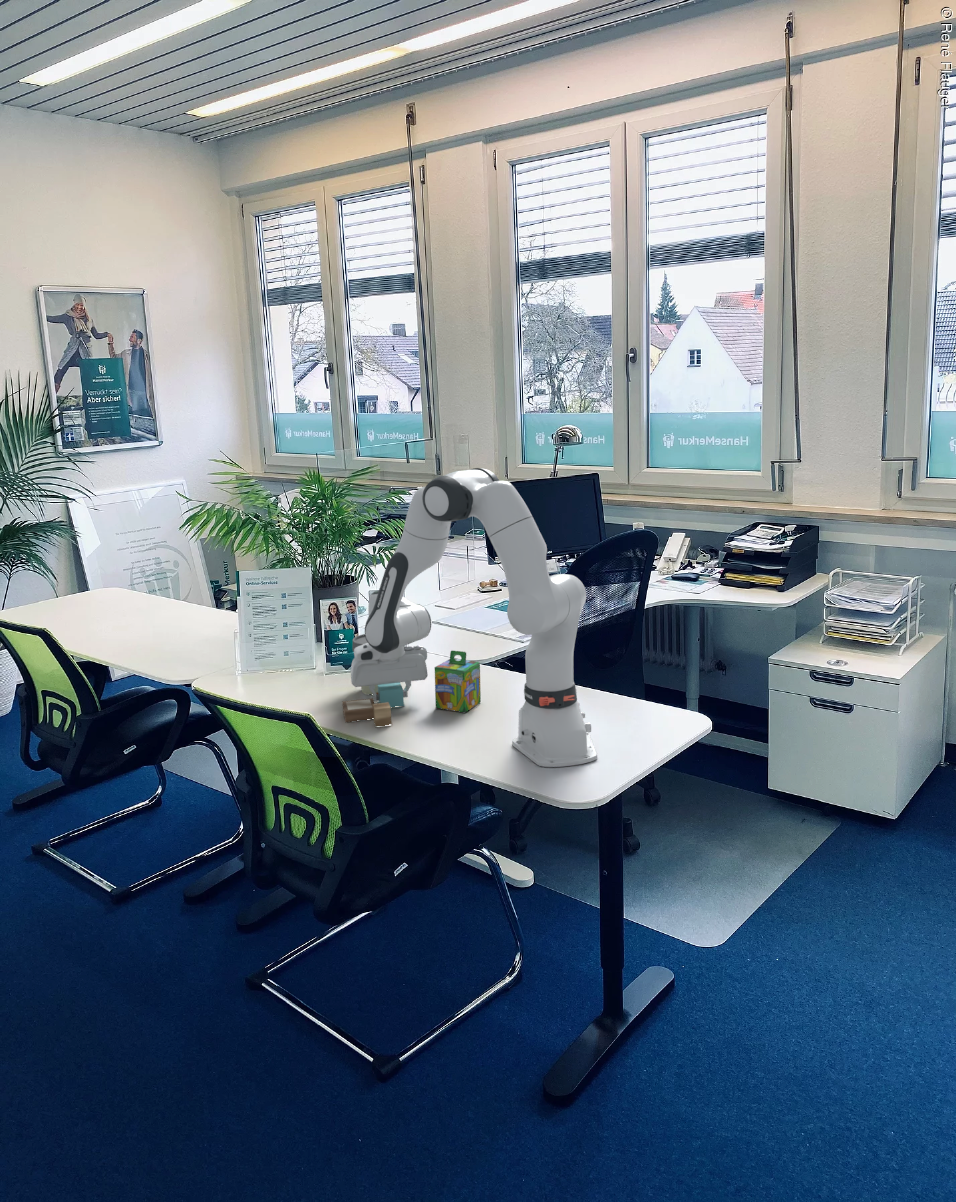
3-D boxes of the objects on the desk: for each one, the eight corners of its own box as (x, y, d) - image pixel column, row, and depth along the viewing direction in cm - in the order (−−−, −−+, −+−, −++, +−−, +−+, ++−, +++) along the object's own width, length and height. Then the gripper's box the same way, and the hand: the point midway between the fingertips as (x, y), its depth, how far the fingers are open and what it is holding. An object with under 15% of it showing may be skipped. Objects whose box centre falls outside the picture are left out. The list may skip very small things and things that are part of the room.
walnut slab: (377, 719, 246) (376, 707, 245) (345, 722, 244) (344, 711, 243) (373, 708, 253) (372, 697, 252) (343, 712, 252) (342, 701, 251)
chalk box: (434, 709, 251) (432, 655, 248) (452, 698, 259) (449, 645, 255) (465, 714, 247) (463, 658, 243) (482, 702, 255) (480, 649, 251)
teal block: (403, 706, 254) (402, 688, 253) (381, 709, 253) (380, 691, 252) (400, 699, 260) (399, 681, 258) (378, 701, 258) (377, 684, 257)
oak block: (391, 726, 241) (390, 707, 239) (375, 728, 240) (374, 709, 239) (389, 720, 244) (388, 702, 243) (374, 722, 244) (372, 703, 242)
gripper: (424, 641, 258) (427, 690, 261) (348, 649, 253) (351, 698, 257) (428, 648, 252) (431, 697, 255) (350, 655, 247) (354, 706, 251)
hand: (390, 698), depth 256 cm, fingers closed on teal block, 6 cm apart
